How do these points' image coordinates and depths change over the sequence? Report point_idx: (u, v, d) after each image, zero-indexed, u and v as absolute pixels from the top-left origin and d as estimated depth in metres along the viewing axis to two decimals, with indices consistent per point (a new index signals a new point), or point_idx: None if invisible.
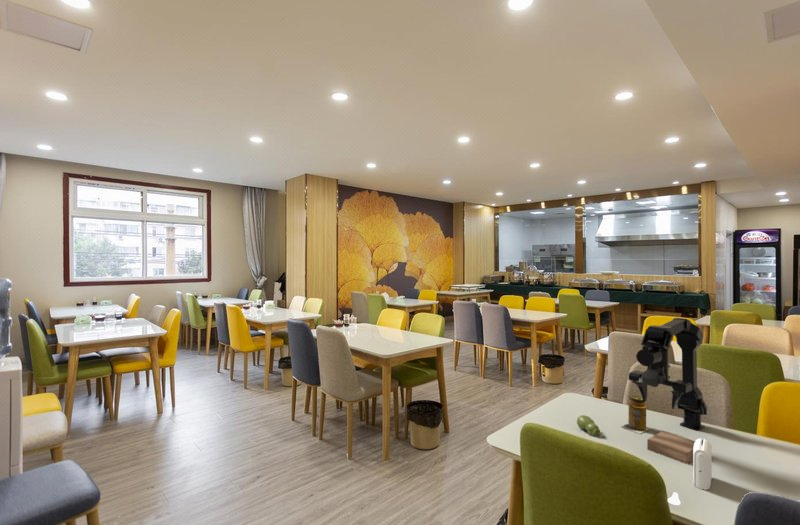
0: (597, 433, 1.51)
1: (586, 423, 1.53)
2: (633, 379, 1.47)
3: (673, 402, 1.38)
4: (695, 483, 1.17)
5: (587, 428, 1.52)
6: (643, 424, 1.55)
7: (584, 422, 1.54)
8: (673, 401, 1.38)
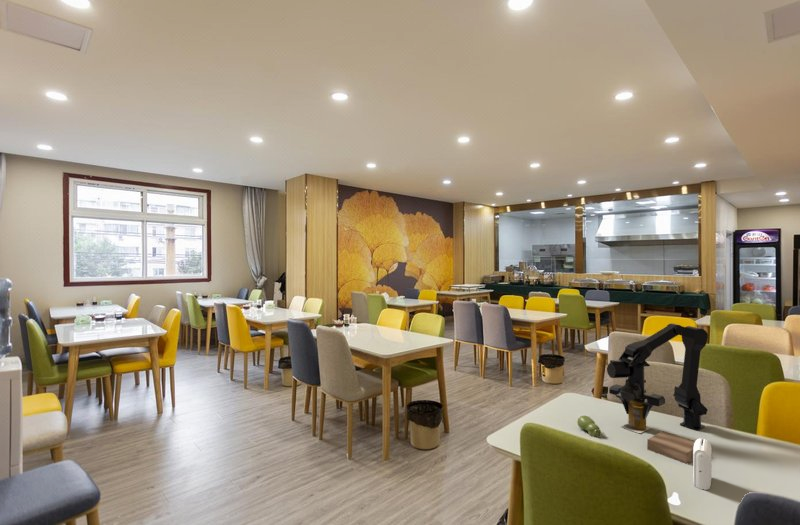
0: (598, 433, 1.50)
1: (587, 423, 1.53)
2: (613, 393, 1.61)
3: (644, 413, 1.54)
4: (695, 483, 1.17)
5: (588, 428, 1.52)
6: (643, 424, 1.55)
7: (584, 422, 1.54)
8: (644, 412, 1.53)
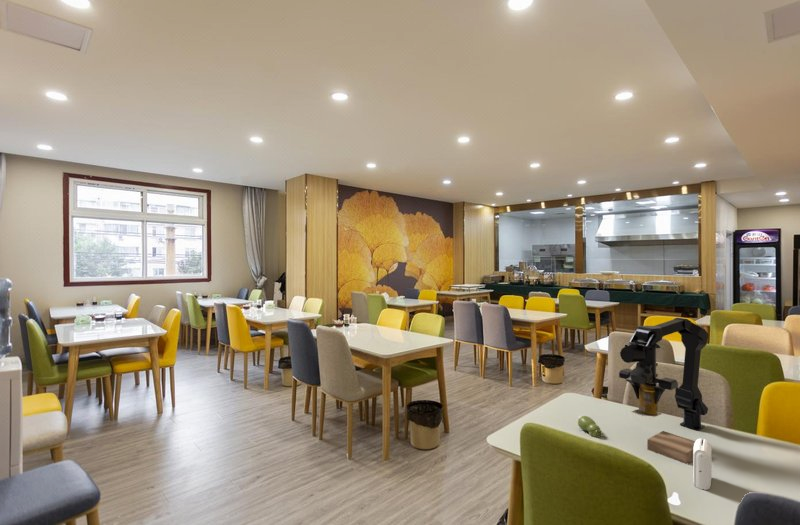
0: (598, 434, 1.50)
1: (588, 424, 1.53)
2: (623, 377, 1.55)
3: (656, 397, 1.47)
4: (695, 483, 1.17)
5: (588, 429, 1.52)
6: (654, 409, 1.48)
7: (585, 423, 1.53)
8: (656, 396, 1.47)
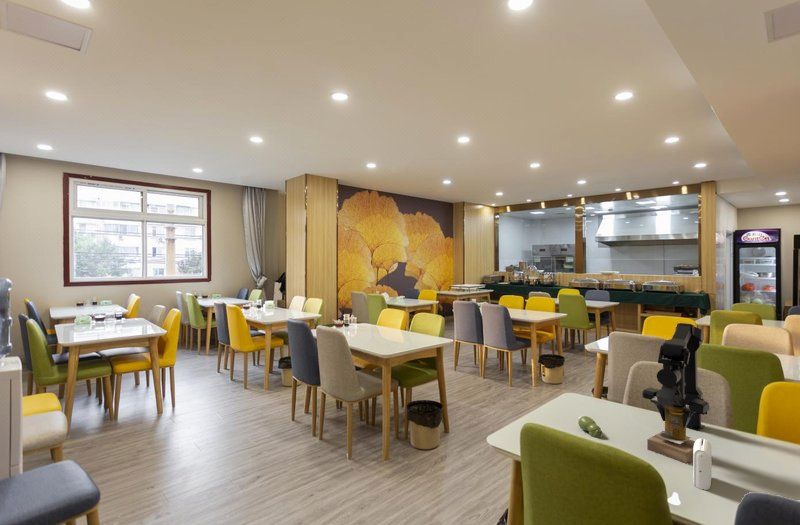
0: (599, 434, 1.50)
1: (588, 424, 1.52)
2: (647, 397, 1.42)
3: (685, 421, 1.35)
4: (695, 483, 1.17)
5: (589, 429, 1.51)
6: (683, 433, 1.36)
7: (585, 423, 1.53)
8: (685, 420, 1.34)
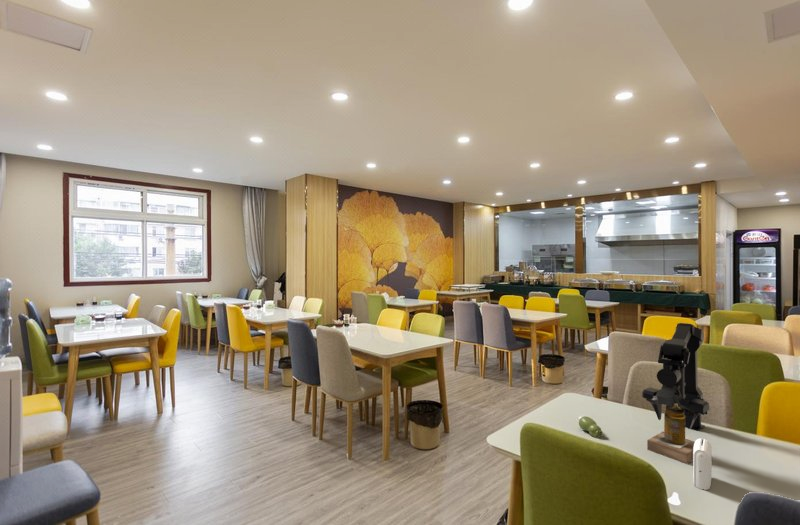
0: (599, 434, 1.50)
1: (588, 424, 1.52)
2: (647, 397, 1.42)
3: (689, 422, 1.33)
4: (695, 483, 1.17)
5: (589, 429, 1.51)
6: (682, 437, 1.36)
7: (586, 423, 1.53)
8: (689, 421, 1.33)
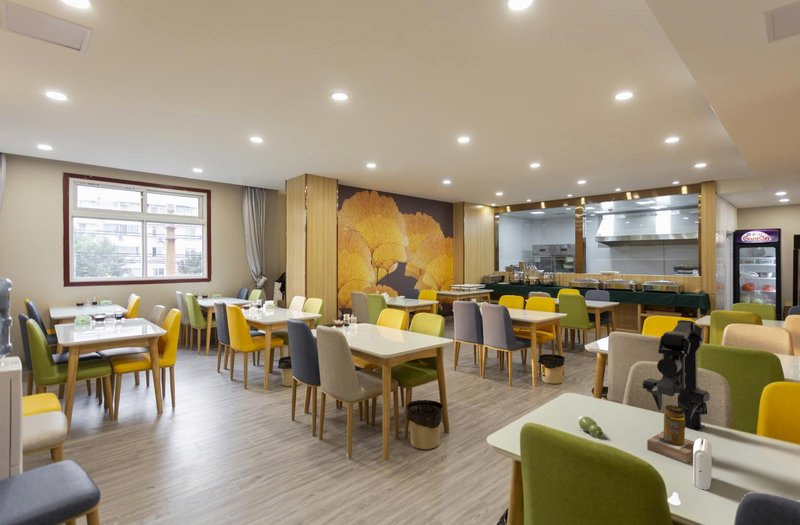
0: (600, 435, 1.49)
1: (589, 424, 1.52)
2: (647, 387, 1.42)
3: (690, 412, 1.33)
4: (695, 483, 1.17)
5: (590, 430, 1.51)
6: (682, 438, 1.35)
7: (586, 423, 1.53)
8: (690, 411, 1.33)
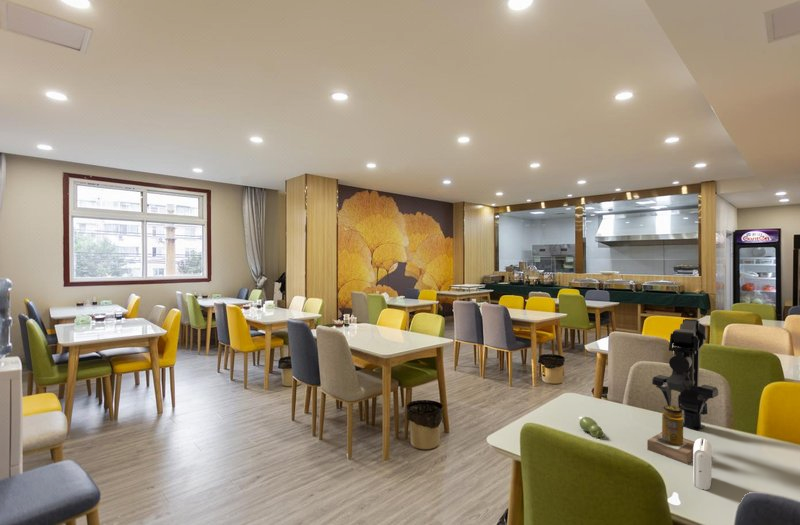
0: (600, 435, 1.49)
1: (589, 425, 1.52)
2: (657, 384, 1.47)
3: (699, 407, 1.38)
4: (695, 483, 1.17)
5: (590, 430, 1.51)
6: (680, 438, 1.35)
7: (587, 424, 1.52)
8: (699, 406, 1.38)
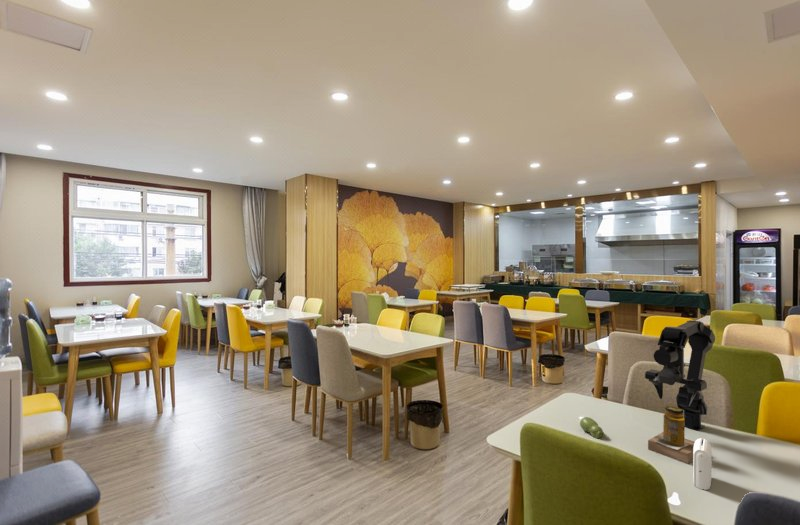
0: (601, 435, 1.49)
1: (590, 425, 1.51)
2: (649, 378, 1.54)
3: (688, 399, 1.45)
4: (695, 483, 1.17)
5: (591, 430, 1.50)
6: (681, 439, 1.34)
7: (587, 424, 1.52)
8: (688, 399, 1.45)
